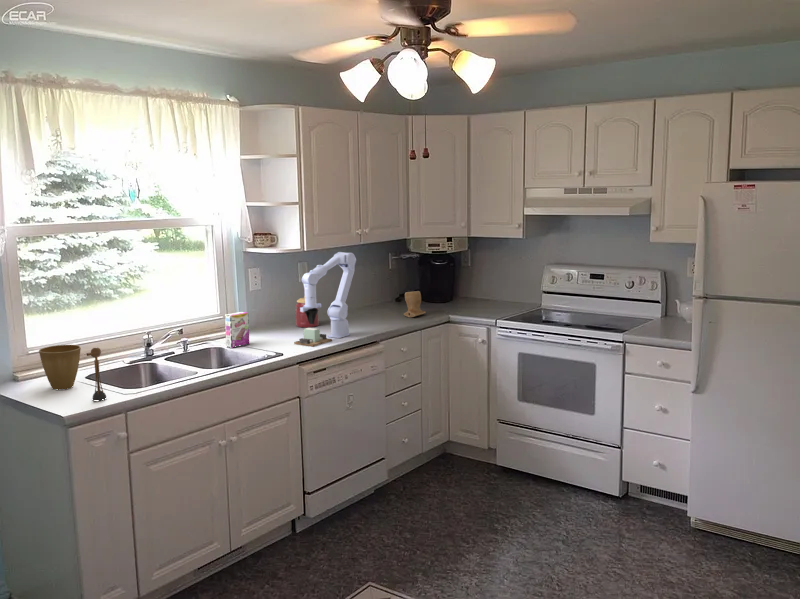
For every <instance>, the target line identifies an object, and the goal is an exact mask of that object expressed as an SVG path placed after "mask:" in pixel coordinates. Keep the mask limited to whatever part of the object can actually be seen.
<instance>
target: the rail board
mask: <svg viewBox="0 0 800 599" xmlns="http://www.w3.org/2000/svg"><path fill="white" fill-rule="evenodd" d="M332 341H333V339H332V338H329V337H328V338H327V334H325V333H320V341H317V342H313V340H312V339H304V337H302V338H299V340H298V341H294V343H293V345H299V346H306V347H317V346H319V345H323V344H326V343H327V344H328V343H330V342H332Z"/></svg>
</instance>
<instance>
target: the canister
mask: <svg viewBox="0 0 800 599" xmlns="http://www.w3.org/2000/svg"><path fill="white" fill-rule="evenodd" d="M296 302H297V303H296V304H295V306H294V307H295V325H296V327H298V328H315V327H318V326H319V323H320V320H319V308H316V309H318V312H317V314H316V317H315V321H314V324H309V321H308V318H307V316H306V314H305V312H300V308H301V307H303V306H304V305H305V295H304V296H303V297H300V298H298V299H297V300H296ZM316 302H317V299H316Z"/></svg>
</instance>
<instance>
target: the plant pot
mask: <svg viewBox="0 0 800 599" xmlns="http://www.w3.org/2000/svg"><path fill="white" fill-rule="evenodd" d="M81 348H82V346H80V345H77V344H61V345H60V344H59V345H58V344H57V345H49V346H46V347H43V348H40V349H39V350H38V353H39V357H40V361H41V364H42V367H43V371H44V374H45V376H46V378H47V380H48V383H49V385H50V386H51V388H53V389H52V390H54V389H58V390H57V391H60V390H59V389H65V390H68V389H67V388H70V389H72V388H73V387H74V385H75V381H76V379H77V378H76V377H77V375H78V370H79V365H80V360H81V358H80V357H81V350H82V349H81ZM72 386H73V387H72ZM71 387H72V388H71Z"/></svg>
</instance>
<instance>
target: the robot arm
mask: <svg viewBox="0 0 800 599" xmlns="http://www.w3.org/2000/svg"><path fill="white" fill-rule="evenodd" d="M356 263H357V258H356V255H355V254H354V252H343V251H338V252H336V253H334V254H333V256H332V257H331V258H329V260H327V261H326V262H325V263H324V264H323V265H322V264H317V265H316V267H314V268H313V269H311V270H309V272H305V273H304V274H303V275H302V277H301V279H300V280H301V282H302V284H303V289H304V296H305V305H304V306H303V307H301V308H300V312H305V314H306V316H307V318H308V321H309V324H314V321H315V317H316V314H317V312H318V313H319V311H318V310H319V308H322V303H320V302H318V303H317V301H316V300H317V284H318V283H319V280H320V279H321V278H323V277H325V276H326V275H327V273H328V271H329V270H331V269H332V268H334V267H335V266H337V265H338V266H339V268H341V269H342V271H343V272H342V276H341V278H340V282H339V286H338V289H337V292H336V296H335V299H334V300H333V301H332V302H331V303H330V306H329V307H328V309H327V312H326V314H327V316H328V318H329V319H330V334H329V335H327V337H328V338H335V339H337V338H338V339H341V338H345V337H347V336H348V337H349V336H350V335H351V334H350V333H349V332H350V329H349V327H350V325H349V321H348V319H347V317H348V311H349V310H348V308H349V306H348V304H347V303H346V301H347V298H348V295H349V291H350V289H351V285H352V282H353V281H352V280H353V277H354V274H355V270H356V269H355V266H356ZM316 308H318V309H316Z"/></svg>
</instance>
